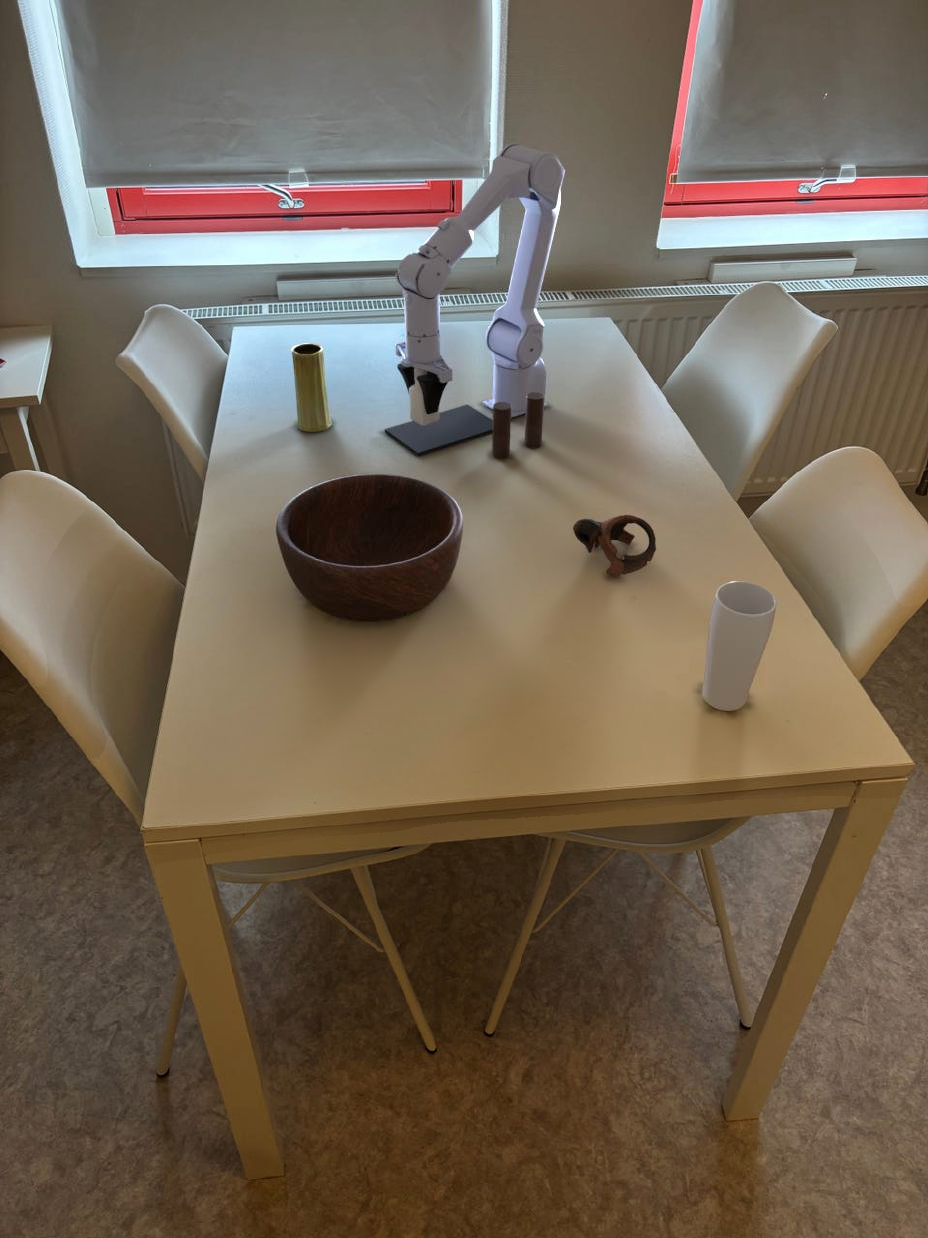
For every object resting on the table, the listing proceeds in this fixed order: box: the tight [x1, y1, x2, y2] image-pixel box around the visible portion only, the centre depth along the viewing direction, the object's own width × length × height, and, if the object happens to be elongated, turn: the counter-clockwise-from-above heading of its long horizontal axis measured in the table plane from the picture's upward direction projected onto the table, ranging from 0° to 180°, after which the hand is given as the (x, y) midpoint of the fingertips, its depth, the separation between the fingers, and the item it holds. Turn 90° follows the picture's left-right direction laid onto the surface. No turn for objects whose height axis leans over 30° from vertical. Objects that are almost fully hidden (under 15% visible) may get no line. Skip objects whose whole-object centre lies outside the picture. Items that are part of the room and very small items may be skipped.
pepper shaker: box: [408, 368, 440, 425], centre depth 165 cm, size 4×4×10 cm
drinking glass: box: [701, 580, 778, 712], centre depth 111 cm, size 7×7×15 cm
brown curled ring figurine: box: [572, 514, 657, 579], centre depth 137 cm, size 12×10×8 cm
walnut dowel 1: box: [491, 402, 512, 460], centre depth 162 cm, size 3×3×9 cm
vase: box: [291, 342, 332, 433], centre depth 169 cm, size 6×6×14 cm
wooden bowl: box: [275, 473, 464, 622], centre depth 131 cm, size 25×25×10 cm
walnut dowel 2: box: [523, 392, 545, 449], centre depth 165 cm, size 3×3×9 cm
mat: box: [384, 404, 493, 457], centre depth 171 cm, size 18×11×1 cm, turn 125°
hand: (424, 407), depth 166 cm, fingers closed on pepper shaker, 4 cm apart
